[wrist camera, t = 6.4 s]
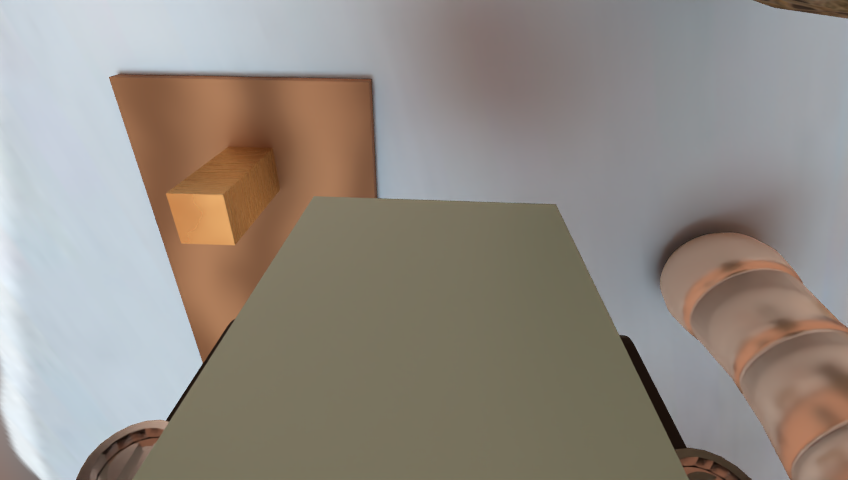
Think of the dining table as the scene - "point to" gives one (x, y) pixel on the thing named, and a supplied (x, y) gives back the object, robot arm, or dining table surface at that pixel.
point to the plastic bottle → (768, 345)
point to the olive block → (419, 358)
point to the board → (245, 127)
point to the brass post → (224, 196)
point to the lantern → (812, 6)
